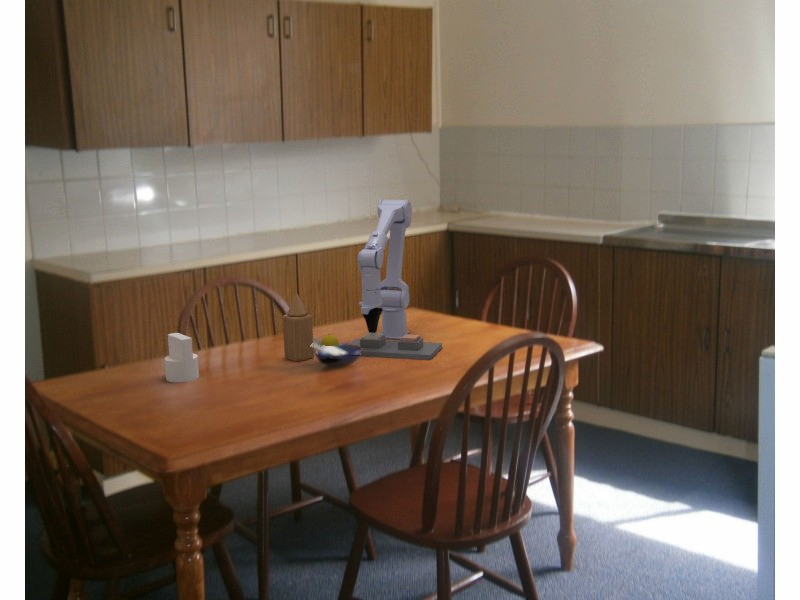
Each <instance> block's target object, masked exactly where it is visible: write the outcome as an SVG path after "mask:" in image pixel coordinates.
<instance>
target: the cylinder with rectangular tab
mask: <svg viewBox="0 0 800 600" xmlns="http://www.w3.org/2000/svg"><path fill="white" fill-rule="evenodd" d="M167 342H168V343H167V344H168V354H169V355H167V356H165V357H164V369H165V371H164V372H165V379H166V381H167V382H169V383H187V382H192V381H196V380H197V379H199V377H200V372H199V356H198V354H196V353H194V352H193V339H192V337H190V336H188V335H184V334H182V333H179V332H173V333H169V334H167Z"/></svg>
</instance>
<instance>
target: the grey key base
mask: <svg viewBox="0 0 800 600" xmlns="http://www.w3.org/2000/svg"><path fill="white" fill-rule="evenodd" d="M348 344H352V345H358V346H360V347H361V348H362V351H361V355H360V356H359V357H374V358H387V359H388V358H389V359H390V358H391V359H405V360H407V359H408V360H427V361H432V359H433V358H434V357H436V355H437V354H438V353H439V352H440V351H441V350H442V349H443V342H432V341H431V342H427V341H426V342H425V341H424V337H421V336H420V339H419V340H418V341H417V342H407V341H402V338H401V339H398V340H394V339H393V340H392V339H391V340H390V339H389V340H388V339H387V338H386V336H384V335H382V337H381V338H380V339H379V340H369V339H364V336H363V337H361V338H355V339H353V340H352V341H351V342H349V343H348ZM441 348H442V349H441Z"/></svg>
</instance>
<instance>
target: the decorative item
mask: <svg viewBox="0 0 800 600" xmlns="http://www.w3.org/2000/svg"><path fill="white" fill-rule="evenodd" d="M308 312H309V311H308V310H307V309H306V306H305V305H304V303H303V301H302V300H301V298H300V297H299V294H298V292H296V293H295V295H294V296H293V299H292V301H291V304H290V306H289V309H288V310H287V313H286V314H284V315H282V330H283V331H282V333H283V349H284V350H283V351H284V353H283V354H284V358H285V359H288V360H290V361H294V362H301V361H305V360H309V359H313V358H314V355H315V354H314V353H315V352H314V347H313V348H312V347H310V345H311V344H312V343H313V344H314V333H313V332H314V330H313V316H312V315H311V314H308Z"/></svg>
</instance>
